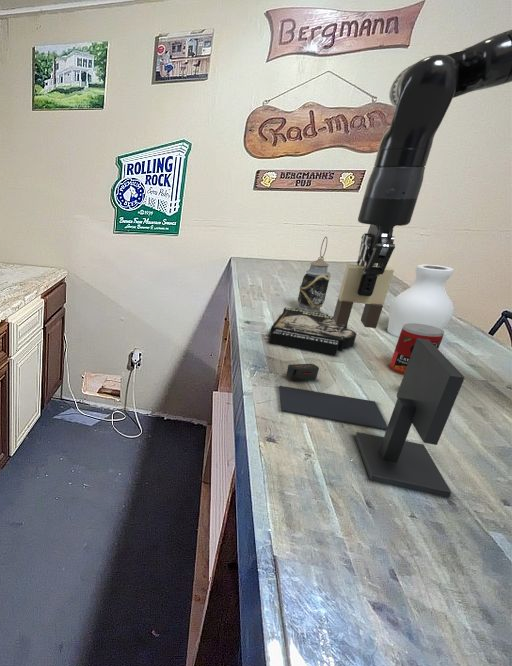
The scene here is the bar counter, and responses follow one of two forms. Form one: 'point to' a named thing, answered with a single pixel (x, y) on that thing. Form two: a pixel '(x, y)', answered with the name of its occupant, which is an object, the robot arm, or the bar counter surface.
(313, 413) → the mat
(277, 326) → the decorative sign
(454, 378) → the monitor
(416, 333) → the canned food
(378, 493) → the bar counter surface
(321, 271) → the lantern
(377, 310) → the small wooden bench
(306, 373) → the wireless earbuds
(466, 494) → the bar counter surface
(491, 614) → the bar counter surface
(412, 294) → the vase
